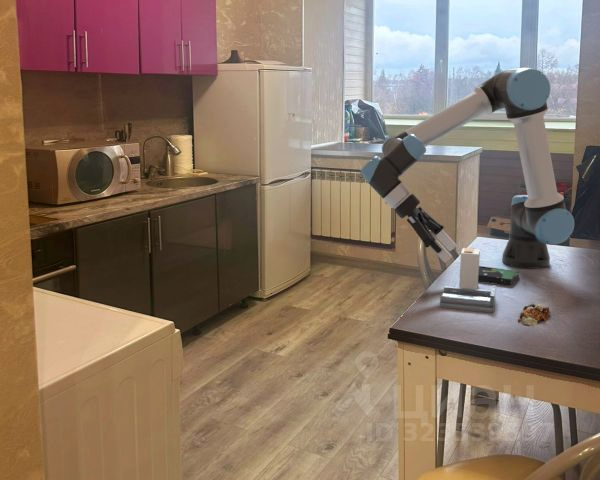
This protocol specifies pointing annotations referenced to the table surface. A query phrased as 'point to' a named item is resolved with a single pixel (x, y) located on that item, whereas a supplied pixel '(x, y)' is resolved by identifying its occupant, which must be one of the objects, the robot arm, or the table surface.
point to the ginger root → (533, 314)
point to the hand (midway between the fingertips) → (451, 253)
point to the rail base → (468, 299)
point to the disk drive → (497, 276)
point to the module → (469, 268)
